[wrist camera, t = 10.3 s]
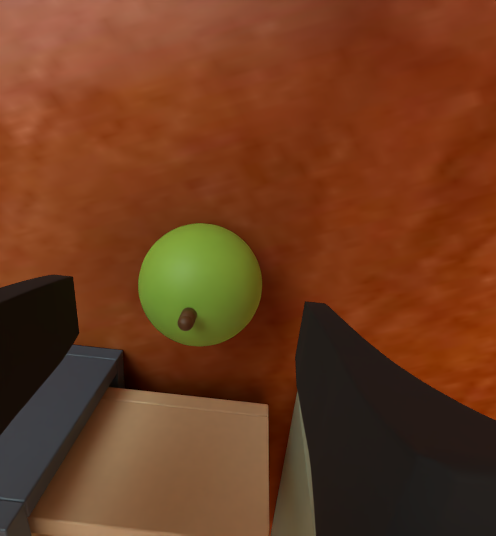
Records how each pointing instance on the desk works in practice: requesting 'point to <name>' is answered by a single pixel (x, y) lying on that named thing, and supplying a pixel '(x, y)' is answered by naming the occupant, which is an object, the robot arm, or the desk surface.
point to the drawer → (176, 472)
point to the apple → (200, 284)
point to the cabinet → (51, 430)
